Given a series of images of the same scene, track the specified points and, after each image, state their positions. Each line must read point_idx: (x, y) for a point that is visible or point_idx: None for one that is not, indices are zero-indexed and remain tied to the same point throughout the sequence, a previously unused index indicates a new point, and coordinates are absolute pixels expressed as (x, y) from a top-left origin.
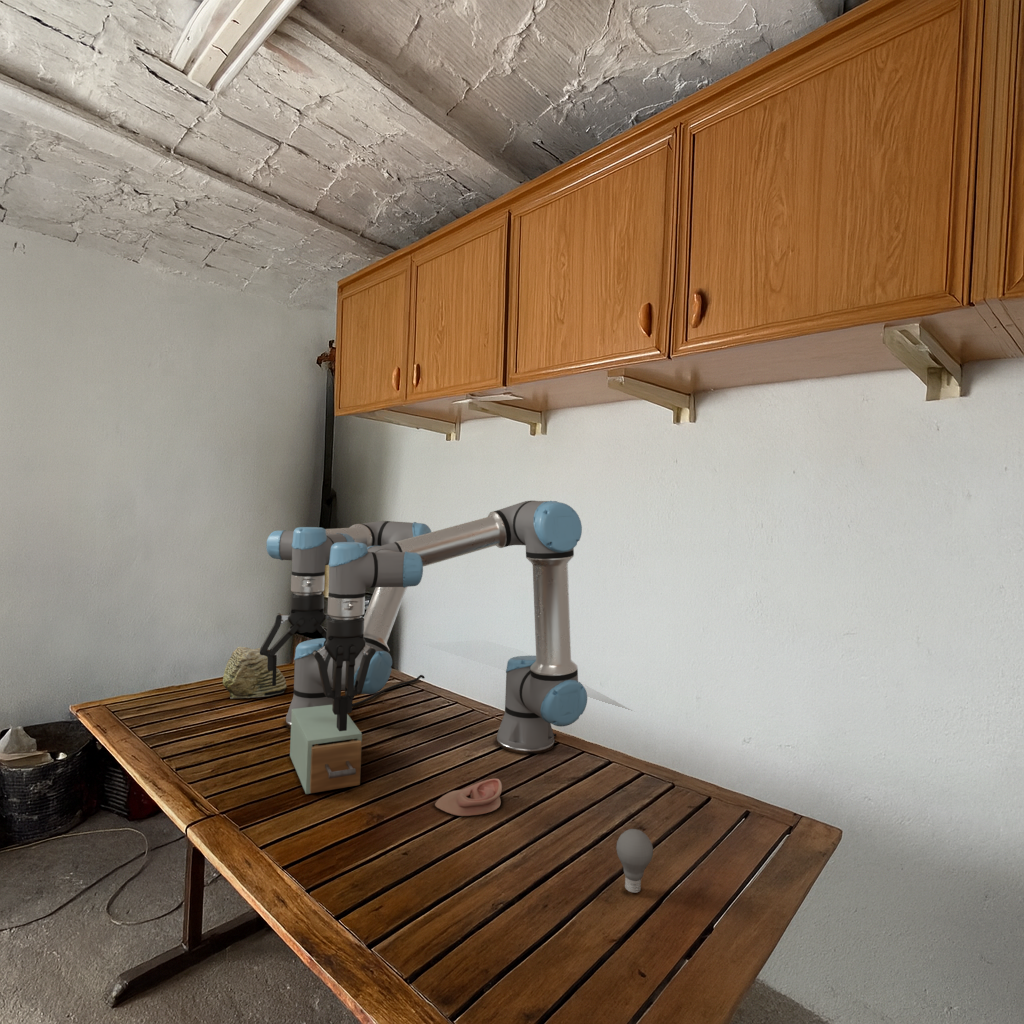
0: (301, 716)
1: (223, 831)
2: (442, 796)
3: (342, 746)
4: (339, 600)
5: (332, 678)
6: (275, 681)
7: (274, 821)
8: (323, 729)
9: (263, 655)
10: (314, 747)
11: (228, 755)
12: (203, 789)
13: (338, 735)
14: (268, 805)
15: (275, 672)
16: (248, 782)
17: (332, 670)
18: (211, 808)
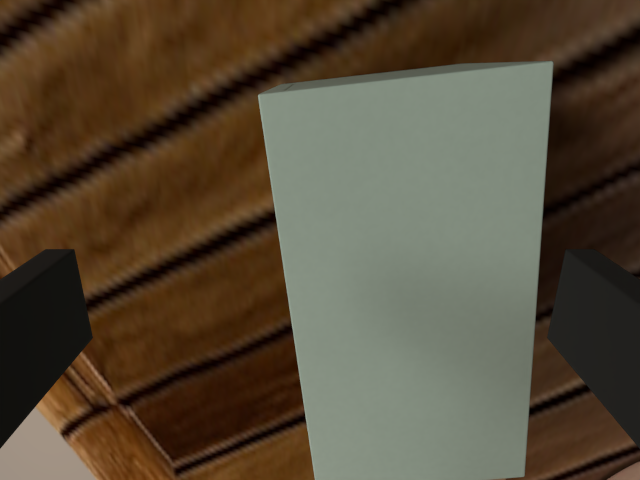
0: (307, 235)
1: (142, 471)
2: (628, 476)
3: None
4: None
5: (565, 276)
6: (70, 358)
7: (243, 461)
8: (388, 412)
9: None
10: None
11: (47, 8)
12: None
13: (434, 476)
14: (226, 396)
15: (19, 417)
16: (160, 261)
17: (610, 292)
18: (92, 377)
